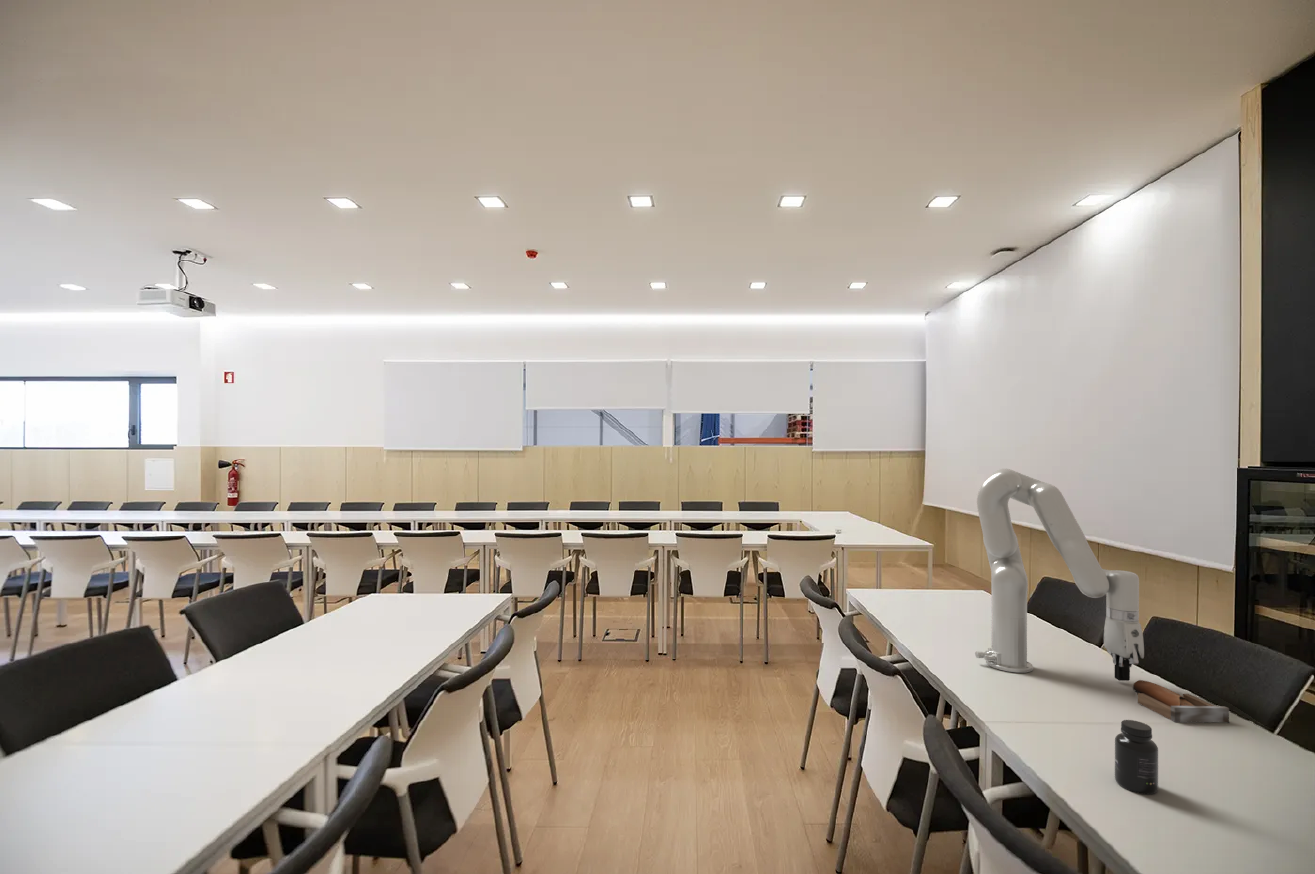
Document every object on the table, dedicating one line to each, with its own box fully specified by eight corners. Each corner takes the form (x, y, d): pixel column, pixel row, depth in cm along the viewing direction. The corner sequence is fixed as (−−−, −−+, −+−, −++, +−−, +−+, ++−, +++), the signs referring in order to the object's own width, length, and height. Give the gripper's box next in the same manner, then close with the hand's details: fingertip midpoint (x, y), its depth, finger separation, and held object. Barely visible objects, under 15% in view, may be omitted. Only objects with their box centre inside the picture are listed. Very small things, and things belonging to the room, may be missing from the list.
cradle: (1174, 722, 154) (1174, 707, 154) (1137, 702, 166) (1137, 689, 166) (1229, 722, 154) (1228, 708, 154) (1188, 703, 166) (1188, 689, 166)
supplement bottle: (1105, 777, 127) (1105, 717, 127) (1137, 776, 128) (1137, 716, 128) (1134, 796, 120) (1134, 732, 120) (1167, 795, 121) (1167, 731, 121)
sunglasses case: (1215, 719, 155) (1200, 695, 156) (1189, 732, 156) (1173, 708, 157) (1165, 692, 173) (1151, 670, 174) (1141, 704, 174) (1128, 682, 174)
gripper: (1156, 622, 173) (1155, 689, 172) (1116, 608, 188) (1116, 670, 187) (1128, 621, 173) (1128, 689, 172) (1091, 607, 188) (1090, 670, 187)
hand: (1122, 679), depth 180 cm, fingers closed
